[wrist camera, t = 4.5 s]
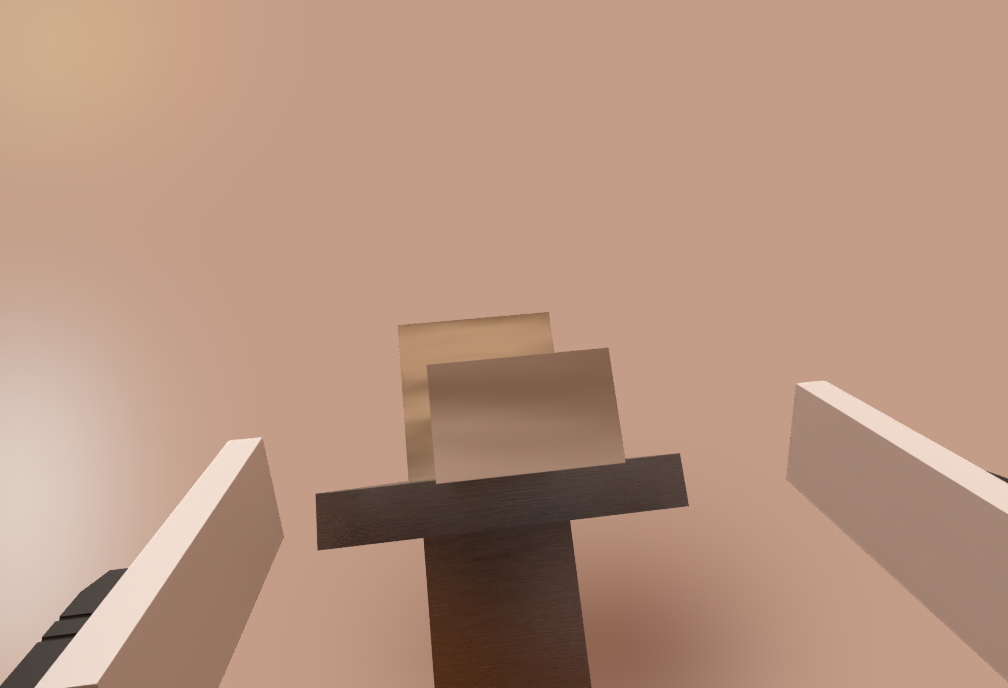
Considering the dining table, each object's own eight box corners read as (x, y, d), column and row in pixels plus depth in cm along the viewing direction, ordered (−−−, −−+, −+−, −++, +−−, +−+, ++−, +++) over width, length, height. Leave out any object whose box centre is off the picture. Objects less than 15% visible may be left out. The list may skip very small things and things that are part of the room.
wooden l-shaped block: (761, 447, 12) (680, 49, 14) (286, 500, 11) (276, 69, 13) (550, 465, 43) (534, 339, 45) (419, 480, 42) (410, 351, 45)
